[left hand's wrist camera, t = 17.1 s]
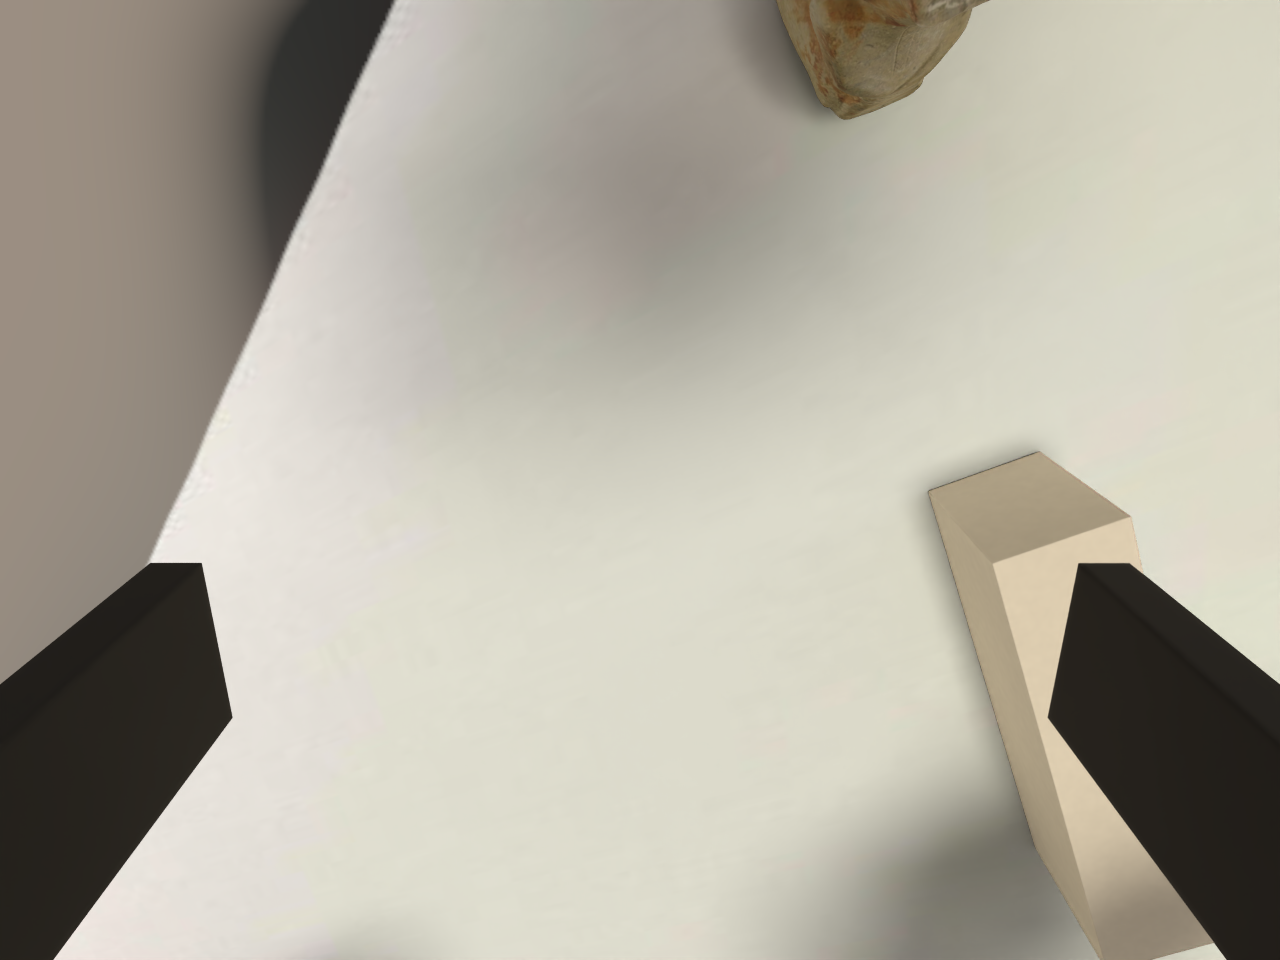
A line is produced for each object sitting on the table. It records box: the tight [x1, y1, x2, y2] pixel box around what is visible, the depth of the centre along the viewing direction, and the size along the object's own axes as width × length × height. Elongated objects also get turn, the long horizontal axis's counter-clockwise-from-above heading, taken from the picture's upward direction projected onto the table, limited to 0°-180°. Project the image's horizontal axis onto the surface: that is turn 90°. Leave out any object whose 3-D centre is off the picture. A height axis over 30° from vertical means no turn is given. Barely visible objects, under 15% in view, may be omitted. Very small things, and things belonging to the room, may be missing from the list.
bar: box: [928, 452, 1214, 960], centre depth 44 cm, size 25×6×9 cm, turn 22°
